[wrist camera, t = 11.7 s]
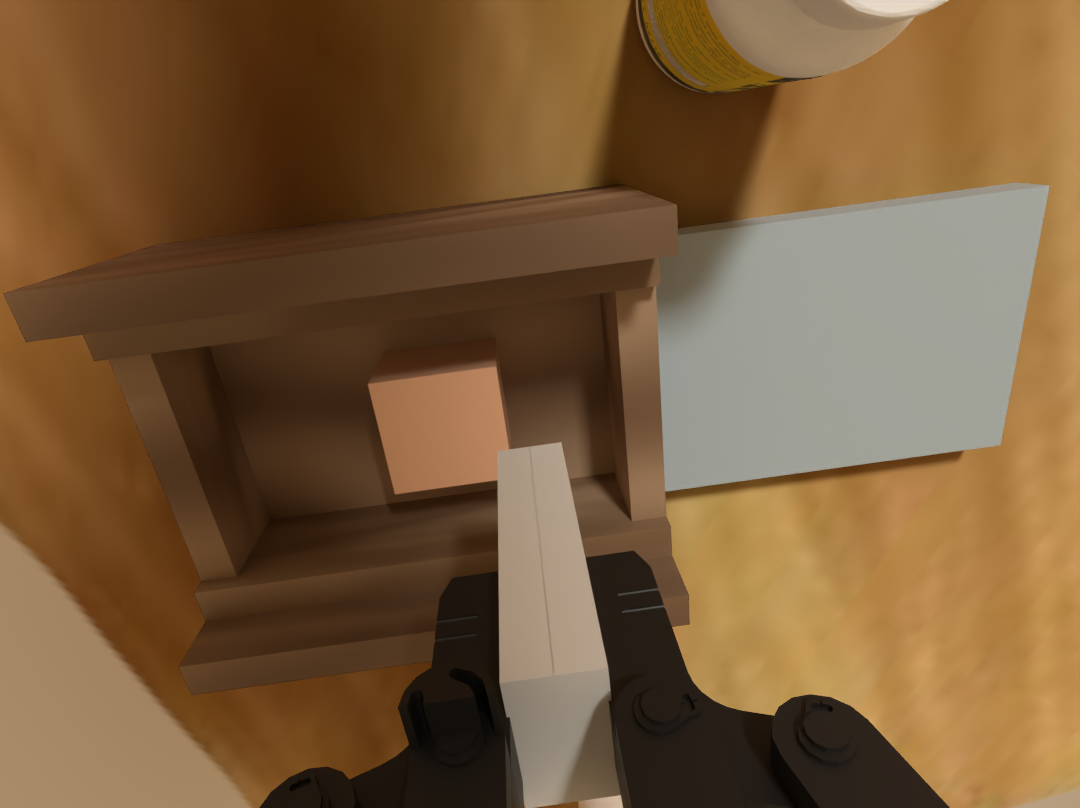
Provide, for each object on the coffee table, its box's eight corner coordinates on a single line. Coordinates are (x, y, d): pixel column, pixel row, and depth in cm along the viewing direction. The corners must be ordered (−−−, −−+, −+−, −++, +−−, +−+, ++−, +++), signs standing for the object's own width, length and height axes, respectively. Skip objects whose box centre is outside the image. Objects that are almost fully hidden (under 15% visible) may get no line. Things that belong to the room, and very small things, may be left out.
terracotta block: (383, 352, 22) (367, 383, 19) (495, 338, 22) (496, 366, 19) (406, 452, 24) (394, 494, 21) (511, 438, 24) (513, 478, 21)
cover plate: (624, 232, 23) (635, 241, 21) (1004, 181, 23) (1049, 185, 21) (639, 469, 26) (650, 493, 25) (965, 424, 27) (1000, 445, 25)
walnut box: (152, 245, 21) (2, 293, 15) (621, 184, 21) (676, 204, 15) (265, 558, 26) (191, 695, 20) (642, 506, 26) (689, 624, 20)
